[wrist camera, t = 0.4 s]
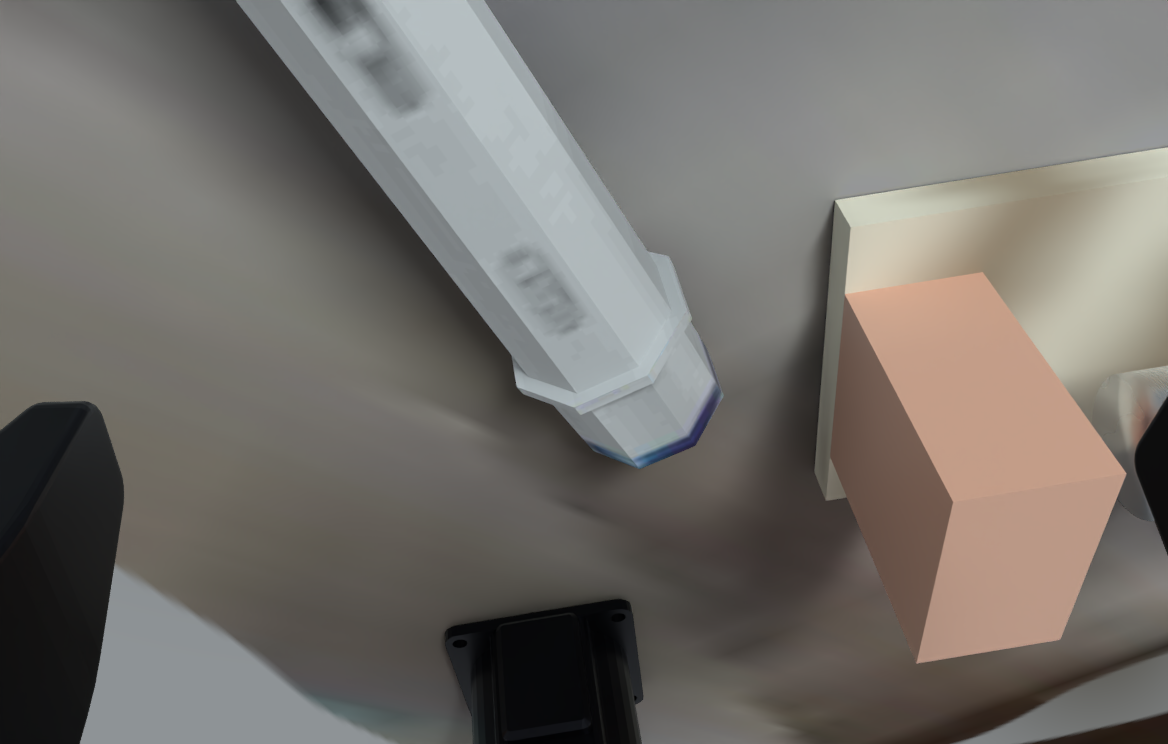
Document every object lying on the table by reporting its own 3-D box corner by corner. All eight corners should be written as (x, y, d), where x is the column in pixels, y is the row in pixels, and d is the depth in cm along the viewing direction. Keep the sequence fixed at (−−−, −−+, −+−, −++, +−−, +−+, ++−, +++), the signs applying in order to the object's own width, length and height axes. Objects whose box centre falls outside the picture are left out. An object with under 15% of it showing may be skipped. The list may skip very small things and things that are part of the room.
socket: (982, 271, 24) (1126, 474, 19) (948, 437, 28) (1060, 639, 23) (844, 294, 24) (953, 502, 19) (830, 456, 28) (916, 663, 23)
